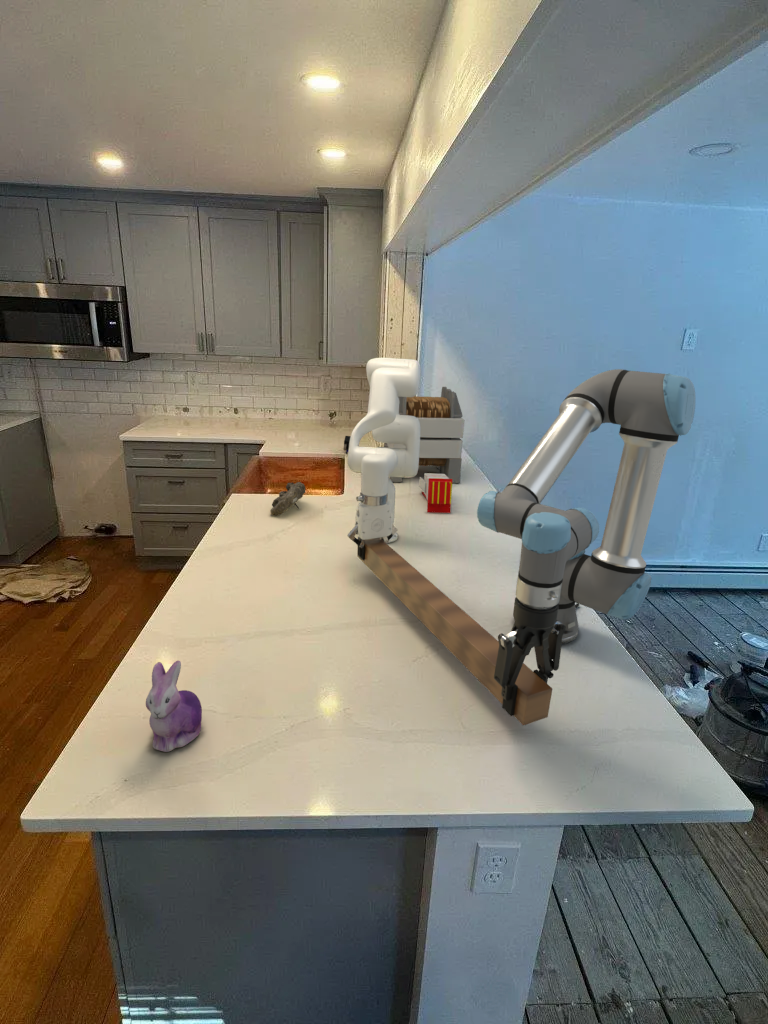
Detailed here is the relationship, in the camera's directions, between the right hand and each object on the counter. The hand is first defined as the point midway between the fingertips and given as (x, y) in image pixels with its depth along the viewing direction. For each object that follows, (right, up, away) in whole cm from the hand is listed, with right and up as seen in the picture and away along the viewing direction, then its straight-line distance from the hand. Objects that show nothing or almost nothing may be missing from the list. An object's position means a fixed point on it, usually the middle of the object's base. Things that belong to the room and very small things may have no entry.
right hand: (521, 706), depth 108 cm
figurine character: (-45, +70, +201) cm, 218 cm away
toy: (-5, +41, +127) cm, 133 cm away
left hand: (-30, +24, +58) cm, 70 cm away
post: (-15, +11, +29) cm, 35 cm away
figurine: (-64, -4, -5) cm, 64 cm away
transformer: (-9, +56, +167) cm, 176 cm away
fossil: (-63, +38, +112) cm, 134 cm away
